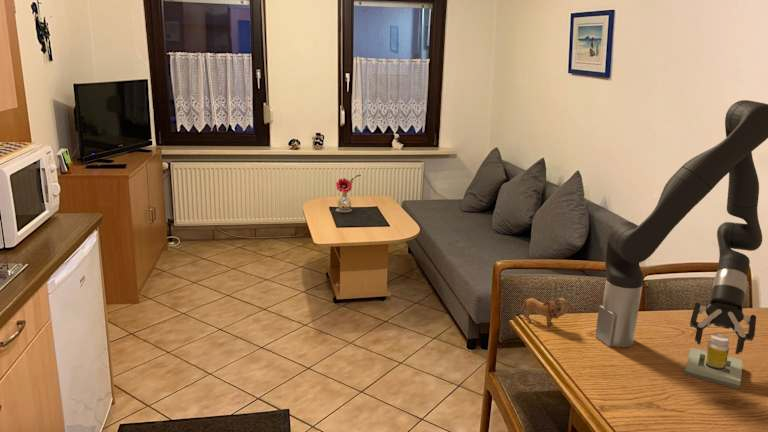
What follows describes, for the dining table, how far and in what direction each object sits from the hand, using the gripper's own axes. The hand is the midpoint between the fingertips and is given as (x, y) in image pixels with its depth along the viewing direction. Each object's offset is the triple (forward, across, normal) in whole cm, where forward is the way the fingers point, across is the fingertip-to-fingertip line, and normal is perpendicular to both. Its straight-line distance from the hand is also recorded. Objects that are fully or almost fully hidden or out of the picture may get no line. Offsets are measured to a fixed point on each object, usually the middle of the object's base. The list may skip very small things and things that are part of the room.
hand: (717, 348), depth 152 cm
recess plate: (+4, 0, +6) cm, 7 cm away
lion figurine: (+3, -45, +8) cm, 46 cm away
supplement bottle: (+3, 0, +6) cm, 6 cm away
